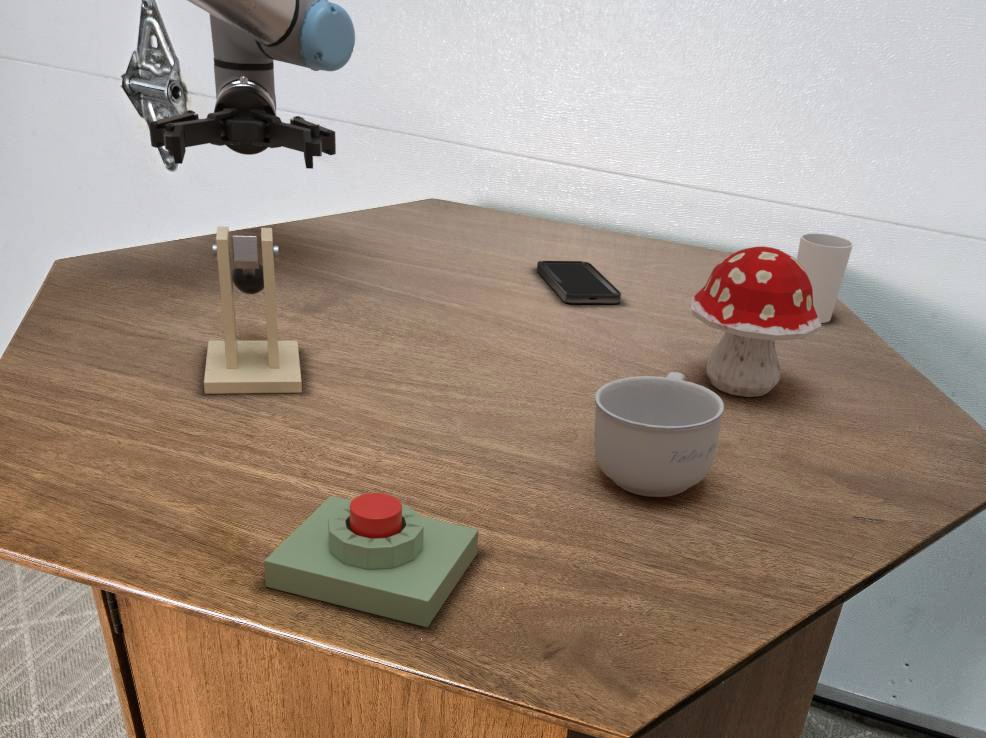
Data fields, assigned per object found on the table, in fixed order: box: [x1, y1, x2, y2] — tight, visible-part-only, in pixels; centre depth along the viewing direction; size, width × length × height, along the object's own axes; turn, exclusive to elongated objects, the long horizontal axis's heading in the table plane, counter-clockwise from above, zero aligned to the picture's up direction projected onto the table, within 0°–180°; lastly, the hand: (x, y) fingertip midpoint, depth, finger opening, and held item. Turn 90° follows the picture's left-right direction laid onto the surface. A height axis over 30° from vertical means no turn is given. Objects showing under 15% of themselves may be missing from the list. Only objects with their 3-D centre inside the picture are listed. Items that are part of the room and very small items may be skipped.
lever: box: [231, 235, 264, 295], centre depth 98 cm, size 13×4×4 cm, turn 14°
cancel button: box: [350, 492, 403, 539], centre depth 68 cm, size 4×4×2 cm
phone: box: [536, 260, 622, 305], centre depth 133 cm, size 8×1×15 cm
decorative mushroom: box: [690, 245, 822, 398], centre depth 103 cm, size 14×14×15 cm
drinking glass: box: [796, 232, 854, 324], centre depth 129 cm, size 7×7×10 cm
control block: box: [263, 495, 479, 628], centre depth 70 cm, size 12×10×4 cm
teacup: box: [593, 371, 725, 498], centre depth 85 cm, size 14×11×8 cm
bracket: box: [203, 226, 303, 395], centre depth 95 cm, size 11×9×14 cm
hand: (244, 153), depth 105 cm, fingers open, 13 cm apart
